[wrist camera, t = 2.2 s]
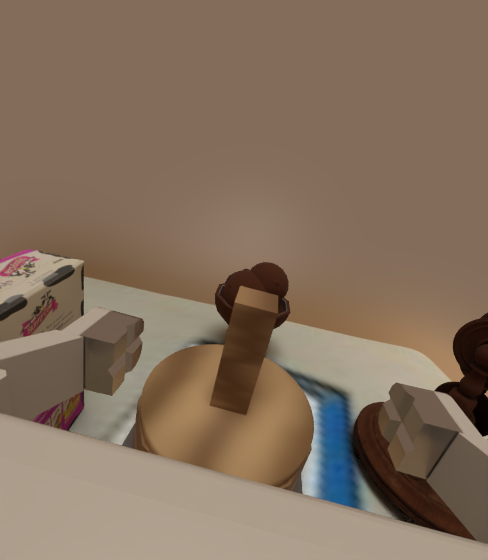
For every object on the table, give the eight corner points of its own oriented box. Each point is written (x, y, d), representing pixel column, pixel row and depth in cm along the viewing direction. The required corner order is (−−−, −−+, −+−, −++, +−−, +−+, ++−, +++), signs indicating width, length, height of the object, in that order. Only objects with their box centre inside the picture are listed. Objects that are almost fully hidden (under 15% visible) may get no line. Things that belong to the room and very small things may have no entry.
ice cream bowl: (248, 327, 51) (270, 249, 45) (286, 368, 42) (318, 278, 37) (194, 334, 45) (210, 245, 40) (225, 384, 37) (252, 279, 31)
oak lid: (96, 512, 21) (106, 321, 15) (170, 376, 35) (191, 249, 29) (296, 570, 20) (391, 398, 14) (289, 408, 35) (336, 286, 28)
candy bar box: (35, 398, 29) (26, 246, 23) (85, 407, 29) (89, 259, 23) (-84, 529, 18) (-159, 313, 12) (-4, 540, 19) (-40, 335, 13)
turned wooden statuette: (474, 607, 21) (686, 414, 14) (323, 444, 32) (399, 284, 24) (512, 501, 30) (652, 351, 23) (385, 402, 41) (454, 276, 33)
